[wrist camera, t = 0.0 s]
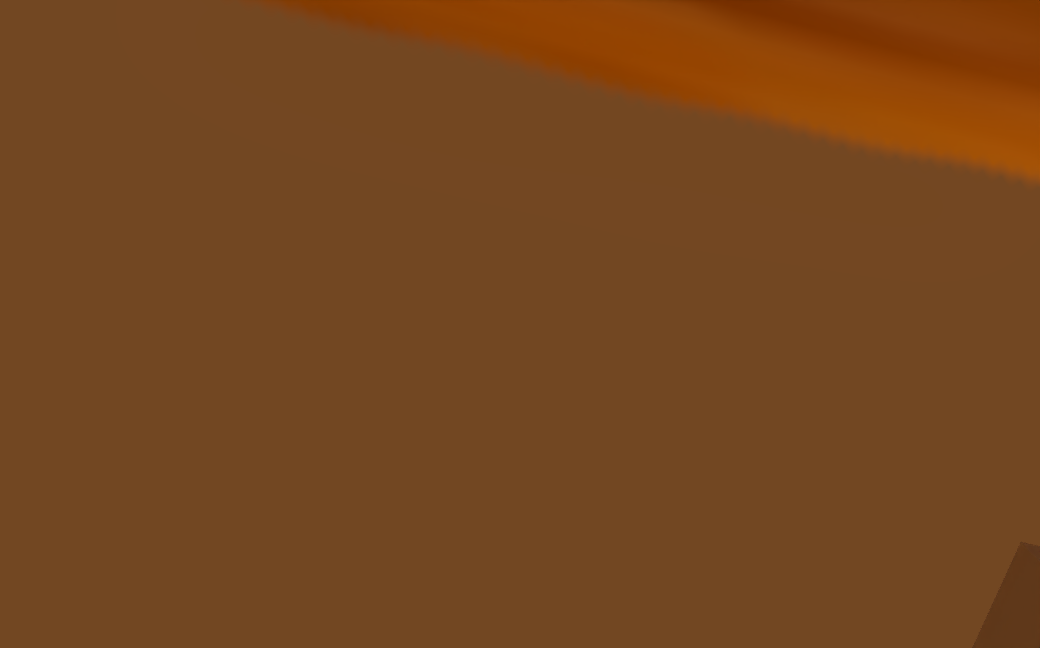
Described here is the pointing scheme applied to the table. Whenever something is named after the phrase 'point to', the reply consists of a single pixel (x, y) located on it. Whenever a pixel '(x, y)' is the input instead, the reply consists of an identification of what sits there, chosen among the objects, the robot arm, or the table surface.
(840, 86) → the table surface
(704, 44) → the table surface
